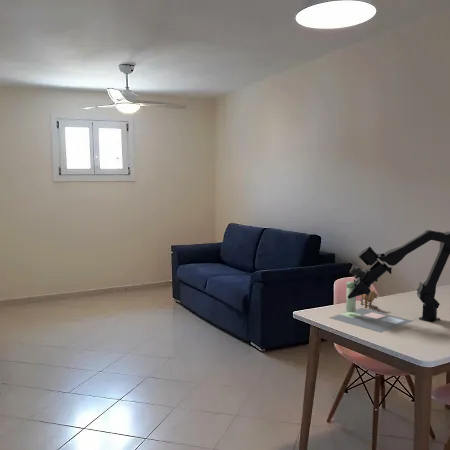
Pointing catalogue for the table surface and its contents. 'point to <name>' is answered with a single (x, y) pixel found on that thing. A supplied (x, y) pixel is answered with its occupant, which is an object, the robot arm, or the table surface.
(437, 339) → the table surface
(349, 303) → the pale green cylinder
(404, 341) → the table surface
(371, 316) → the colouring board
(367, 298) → the lion figurine
